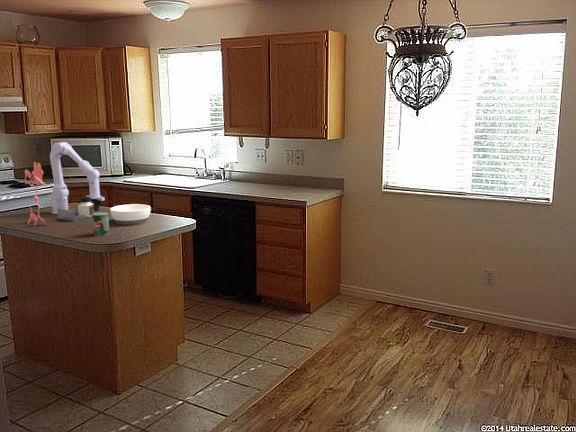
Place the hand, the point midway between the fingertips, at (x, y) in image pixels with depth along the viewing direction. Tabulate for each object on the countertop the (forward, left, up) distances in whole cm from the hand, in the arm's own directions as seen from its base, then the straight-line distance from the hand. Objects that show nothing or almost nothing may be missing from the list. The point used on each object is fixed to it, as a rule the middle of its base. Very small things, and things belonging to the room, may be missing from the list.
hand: (96, 211), depth 330 cm
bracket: (0, -18, -2) cm, 18 cm away
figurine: (-5, -33, -2) cm, 34 cm away
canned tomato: (+45, -34, -2) cm, 57 cm away
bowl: (+36, -5, -2) cm, 36 cm away
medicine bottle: (0, -7, -2) cm, 7 cm away
